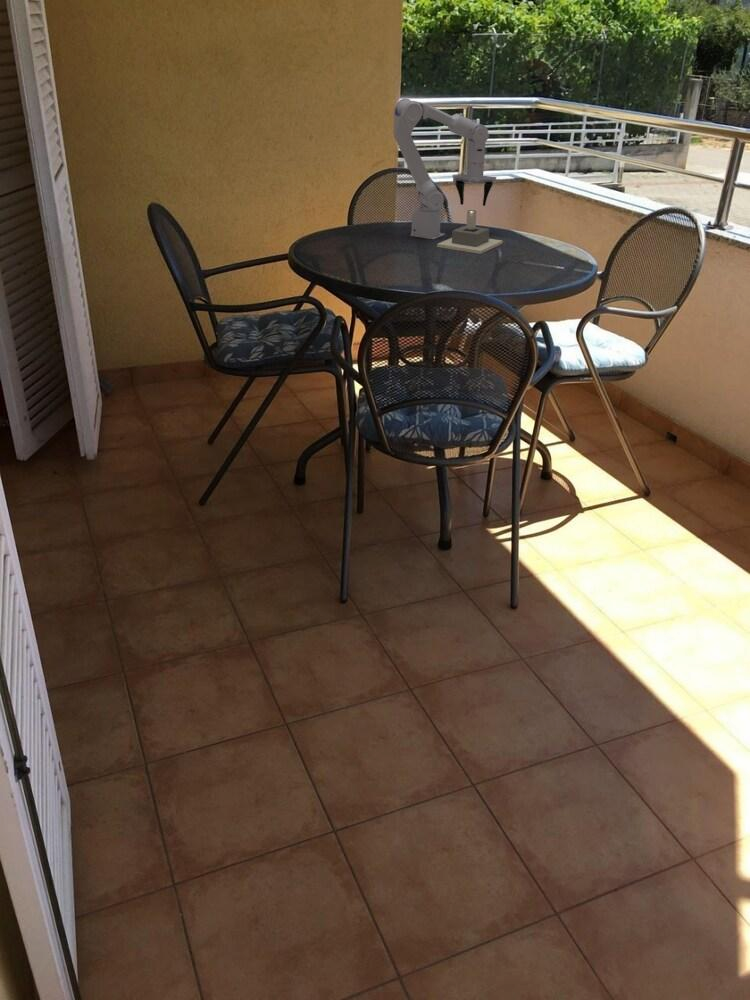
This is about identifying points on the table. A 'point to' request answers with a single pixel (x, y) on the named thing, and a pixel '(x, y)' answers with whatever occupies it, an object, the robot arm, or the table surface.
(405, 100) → the robot arm
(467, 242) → the socket block on plate
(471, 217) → the steel pin
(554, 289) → the table surface
